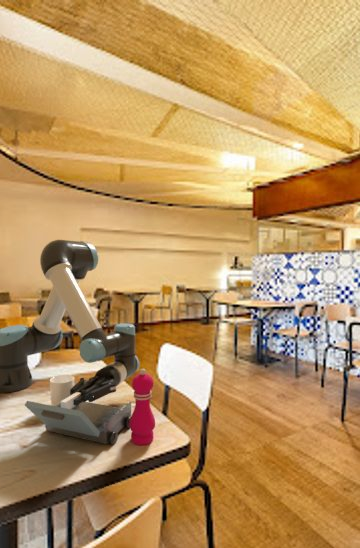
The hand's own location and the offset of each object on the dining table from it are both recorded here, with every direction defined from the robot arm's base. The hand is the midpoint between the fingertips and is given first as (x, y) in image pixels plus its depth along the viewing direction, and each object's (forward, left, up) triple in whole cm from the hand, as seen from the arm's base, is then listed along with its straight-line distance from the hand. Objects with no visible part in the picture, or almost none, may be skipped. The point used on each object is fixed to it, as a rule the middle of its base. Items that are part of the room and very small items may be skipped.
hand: (62, 407), depth 80 cm
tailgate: (-1, +4, -8) cm, 9 cm away
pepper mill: (+14, +15, -12) cm, 24 cm away
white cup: (-21, +17, -12) cm, 30 cm away
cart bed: (-3, +12, -12) cm, 17 cm away
